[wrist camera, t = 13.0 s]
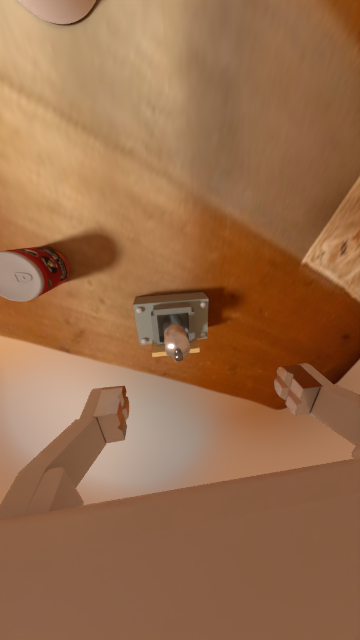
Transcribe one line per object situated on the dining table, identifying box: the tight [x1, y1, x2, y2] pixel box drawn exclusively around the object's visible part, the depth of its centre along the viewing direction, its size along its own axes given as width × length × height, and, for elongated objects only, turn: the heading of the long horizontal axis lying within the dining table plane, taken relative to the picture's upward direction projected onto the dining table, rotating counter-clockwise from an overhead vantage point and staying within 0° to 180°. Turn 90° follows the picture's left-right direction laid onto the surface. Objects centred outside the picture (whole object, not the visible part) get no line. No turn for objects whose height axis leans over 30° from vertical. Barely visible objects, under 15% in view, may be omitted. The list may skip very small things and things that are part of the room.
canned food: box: [0, 247, 70, 301], centre depth 32 cm, size 8×8×11 cm
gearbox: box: [133, 292, 208, 357], centre depth 40 cm, size 10×16×10 cm, turn 92°
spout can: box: [163, 314, 190, 361], centre depth 35 cm, size 4×4×11 cm
